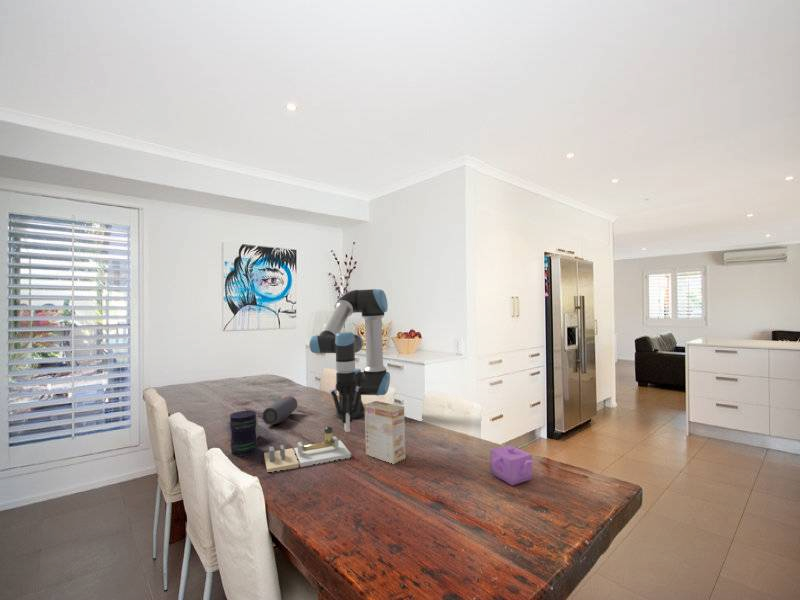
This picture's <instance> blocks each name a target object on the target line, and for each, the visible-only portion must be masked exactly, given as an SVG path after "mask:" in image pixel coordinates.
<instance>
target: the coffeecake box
mask: <svg viewBox="0 0 800 600" xmlns="http://www.w3.org/2000/svg"><path fill="white" fill-rule="evenodd" d="M364 408H365V415H364V434H365V436H364V437H365V455H366V456H368V457H369V456H370V457H372V458H374V457H375V459H378V460H381V461H383V462H385V461H386V463H388V462H389V463H388V464H391V463H392V464H391V465H396V464H397V463H399V461H400V462H401V460H402V461H404V460H406V459H405V458H406V433H405V432H406V431H405V430H406V428H405V406H403V405H398V404H393V403H389V402H383V401H379V400H375V401H372V402H369V403H365V404H364ZM403 459H404V460H403Z"/></svg>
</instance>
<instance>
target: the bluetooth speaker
mask: <svg viewBox="0 0 800 600" xmlns="http://www.w3.org/2000/svg"><path fill="white" fill-rule="evenodd" d="M297 407H298V402H297V399H296V398H295V397H294V396H291V395H289V396H285V397H283V398H281V399H279V400H277V401H275V402H274V403H272V404H270V405H269V406H268V407H266V408H265V409H264V410H263V412H262V415H261V417H262V421H263V422H264V423H265V425H269V426H273V425H276V424H280V422H281V421H282V422H284V421H285V420H287V419H288V417H289V416H290V415H291V414H292V413H293V412H294V411H295V410H296V409H297ZM284 419H285V420H284ZM283 420H284V421H283ZM282 422H281V423H282Z"/></svg>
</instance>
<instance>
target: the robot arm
mask: <svg viewBox="0 0 800 600" xmlns="http://www.w3.org/2000/svg"><path fill="white" fill-rule="evenodd" d="M388 305H389V303H388V298H387V295H386V293H385V291H384V290H383V289H378V288H373V289H371V288H370V289H354V290H353V289H352V290H350V291H348V292H346V293H345V294H343V295H342V296H340V297H339V299H338V300H336V302H335V304H334V307H333V308H334V310H333V312H331V315H330V316H329V318H328V320H327V322H326V323H325V324H324V327H323V328H322V330H321V331H320V334H319V335H312V336H311V337H310V338H309V339H310V340H309V342H308V343H309V344H308V345H309V350H310V352H311V353H313V354H320V355H321V354H335V371H336V373H335V375H336V376H335V379H336V380H335V381H336V382H335V383H336V384H335V387H334V388H333V389H330V390H329V392H330V394H331V396H332V398H333V402H334V406H335V417H336V418H338V419H341V422H342V424H344V425H343V426H344V431H345V432H346V433H348V432H351V425H350V424H351V423H352V422H353V419H358V418H361V417H363V416H364V417H365V404H364V403H363V400H362V396H377V397H378V396H385V395H386V394H387V393H388V391H389V388H390V383H391V382H390V381H391V375H390V374H391V373H390V371H387V367H386V366H385V365H384V356H383V355H384V351H383V323H382V319H383V318H384V317H385V313H387V312H388V309H389V308H388ZM356 313H358V314H359V313H361V318H363V319H364V331H365V332H364V333H365V335H364V337H365V360H366V362H365V364H366V366H365V367H364V368H363V371H362V370H361V369H360V368H356V357H355V356H356V353H358V352H360V351H361V350H362V349H363V347H364V340H363V338H362V336H361V335H358V334H354V332H351V331H344V332H341V331H342V330H343V328H344V325H345V324H346V321H347V320H348V318H349V317H351V316H352V314H356ZM337 394H338V396H337Z"/></svg>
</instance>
